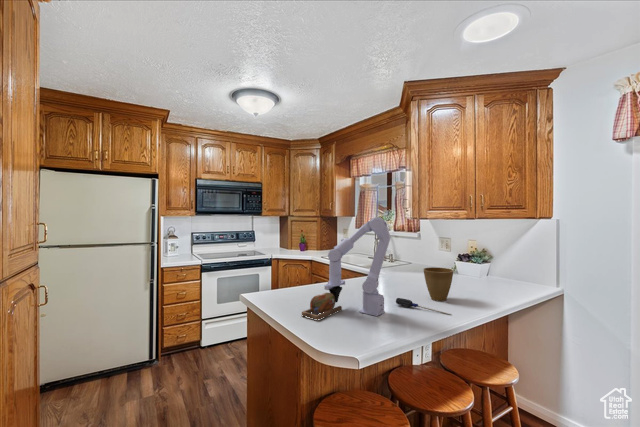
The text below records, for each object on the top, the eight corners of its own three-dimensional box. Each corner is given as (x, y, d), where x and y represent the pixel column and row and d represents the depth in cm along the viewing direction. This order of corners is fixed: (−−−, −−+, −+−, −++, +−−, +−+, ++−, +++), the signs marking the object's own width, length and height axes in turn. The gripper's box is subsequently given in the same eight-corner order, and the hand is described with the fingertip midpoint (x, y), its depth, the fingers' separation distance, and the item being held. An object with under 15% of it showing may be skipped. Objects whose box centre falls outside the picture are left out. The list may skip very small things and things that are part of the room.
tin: (313, 317, 131) (313, 298, 131) (308, 315, 133) (308, 296, 133) (335, 309, 142) (336, 291, 142) (331, 307, 144) (331, 290, 144)
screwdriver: (452, 314, 136) (452, 306, 136) (451, 316, 133) (451, 308, 133) (397, 304, 151) (397, 296, 151) (394, 306, 148) (394, 298, 148)
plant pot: (447, 295, 166) (448, 267, 166) (457, 304, 151) (457, 272, 151) (420, 295, 167) (420, 266, 167) (427, 303, 153) (427, 271, 153)
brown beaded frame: (341, 310, 140) (341, 306, 140) (317, 321, 126) (317, 316, 126) (326, 306, 146) (326, 302, 146) (301, 316, 132) (301, 311, 132)
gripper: (337, 270, 152) (337, 297, 152) (319, 275, 141) (319, 303, 141) (348, 272, 148) (348, 299, 148) (331, 277, 136) (331, 306, 136)
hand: (335, 301), depth 144 cm, fingers closed
